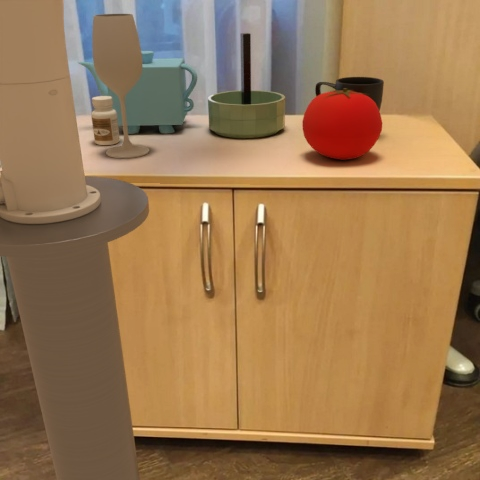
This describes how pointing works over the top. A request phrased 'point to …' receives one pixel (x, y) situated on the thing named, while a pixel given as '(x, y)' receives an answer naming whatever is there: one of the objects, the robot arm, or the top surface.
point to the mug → (358, 87)
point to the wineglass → (118, 67)
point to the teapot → (153, 94)
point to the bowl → (246, 114)
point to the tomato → (342, 124)
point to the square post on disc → (245, 68)
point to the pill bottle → (104, 121)
